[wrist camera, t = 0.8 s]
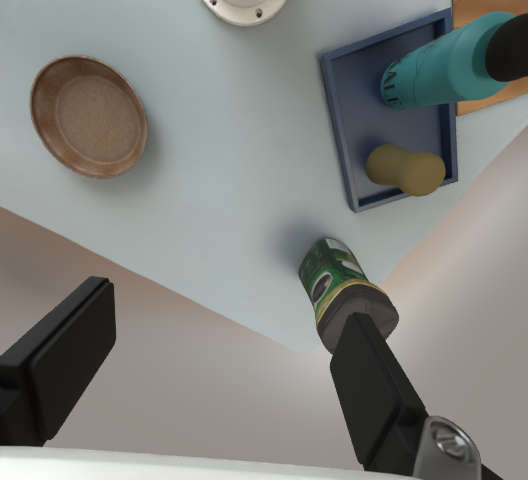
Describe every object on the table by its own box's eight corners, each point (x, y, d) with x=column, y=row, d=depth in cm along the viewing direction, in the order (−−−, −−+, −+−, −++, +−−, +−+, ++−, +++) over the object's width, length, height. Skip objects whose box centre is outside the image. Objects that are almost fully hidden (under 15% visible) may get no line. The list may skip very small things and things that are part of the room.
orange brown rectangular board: (447, -100, 30) (450, -103, 29) (541, -139, 29) (545, -142, 28) (456, 116, 38) (458, 115, 38) (528, 91, 37) (531, 91, 37)
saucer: (110, 37, 34) (98, 29, 31) (174, 148, 39) (168, 149, 36) (20, 93, 36) (2, 90, 33) (92, 191, 41) (81, 195, 38)
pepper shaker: (393, 134, 39) (442, 136, 28) (412, 167, 40) (464, 180, 30) (357, 161, 40) (392, 172, 30) (377, 192, 42) (416, 212, 32)
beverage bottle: (430, 85, 36) (611, 38, 18) (390, 123, 38) (518, 117, 19) (403, 44, 34) (573, -54, 16) (362, 87, 36) (474, 42, 18)
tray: (319, 59, 35) (323, 54, 33) (438, 14, 34) (451, 6, 31) (350, 209, 43) (355, 213, 41) (447, 178, 42) (458, 181, 39)
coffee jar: (328, 291, 49) (367, 378, 32) (291, 275, 48) (311, 357, 30) (358, 249, 46) (419, 320, 29) (319, 230, 44) (360, 293, 27)
